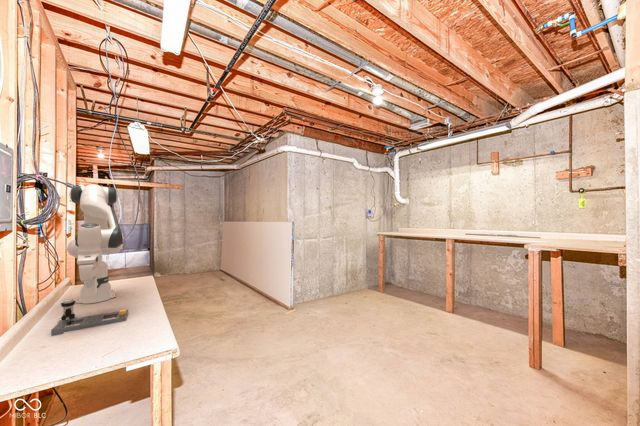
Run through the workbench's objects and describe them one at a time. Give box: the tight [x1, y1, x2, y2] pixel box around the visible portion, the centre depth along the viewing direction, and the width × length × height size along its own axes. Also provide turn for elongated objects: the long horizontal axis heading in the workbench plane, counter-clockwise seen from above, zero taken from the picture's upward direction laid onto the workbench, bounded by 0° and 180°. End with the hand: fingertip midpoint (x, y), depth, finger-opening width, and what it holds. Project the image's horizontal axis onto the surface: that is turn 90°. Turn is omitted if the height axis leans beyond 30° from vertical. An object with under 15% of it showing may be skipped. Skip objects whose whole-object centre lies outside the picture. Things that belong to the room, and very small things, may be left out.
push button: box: [57, 298, 77, 322], centre depth 130 cm, size 7×5×10 cm
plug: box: [83, 276, 97, 297], centre depth 124 cm, size 4×4×9 cm
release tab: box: [118, 309, 127, 315], centre depth 130 cm, size 2×2×4 cm
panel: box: [50, 309, 129, 337], centre depth 124 cm, size 12×26×3 cm, turn 121°
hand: (90, 286), depth 124 cm, fingers closed on plug, 4 cm apart
